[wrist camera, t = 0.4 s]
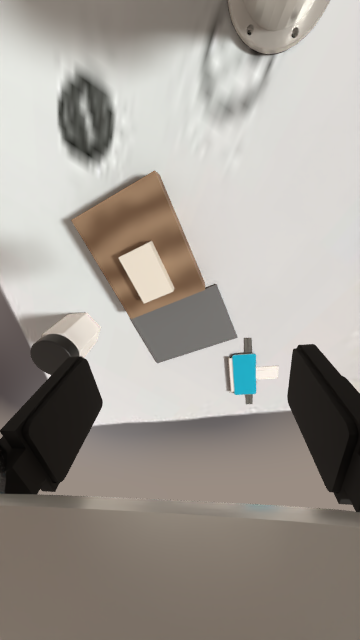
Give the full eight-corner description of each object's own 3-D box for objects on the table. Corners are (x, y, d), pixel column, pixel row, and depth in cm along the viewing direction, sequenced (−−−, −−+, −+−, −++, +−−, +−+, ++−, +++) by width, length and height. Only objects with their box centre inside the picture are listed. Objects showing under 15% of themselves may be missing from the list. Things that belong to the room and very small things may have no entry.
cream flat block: (122, 255, 38) (118, 257, 36) (151, 240, 37) (149, 242, 35) (146, 299, 41) (143, 303, 40) (174, 287, 40) (173, 291, 38)
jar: (57, 322, 51) (19, 352, 40) (80, 304, 48) (45, 331, 37) (85, 349, 53) (56, 384, 43) (108, 333, 51) (83, 366, 40)
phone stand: (275, 400, 56) (277, 406, 54) (228, 402, 58) (229, 407, 56) (279, 333, 47) (281, 337, 46) (223, 338, 49) (224, 342, 48)
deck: (82, 219, 40) (71, 220, 36) (159, 174, 36) (154, 170, 32) (136, 311, 47) (130, 319, 44) (204, 283, 43) (205, 289, 39)
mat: (130, 318, 48) (130, 318, 48) (216, 284, 43) (216, 284, 43) (157, 362, 53) (157, 363, 53) (237, 336, 48) (237, 337, 47)
